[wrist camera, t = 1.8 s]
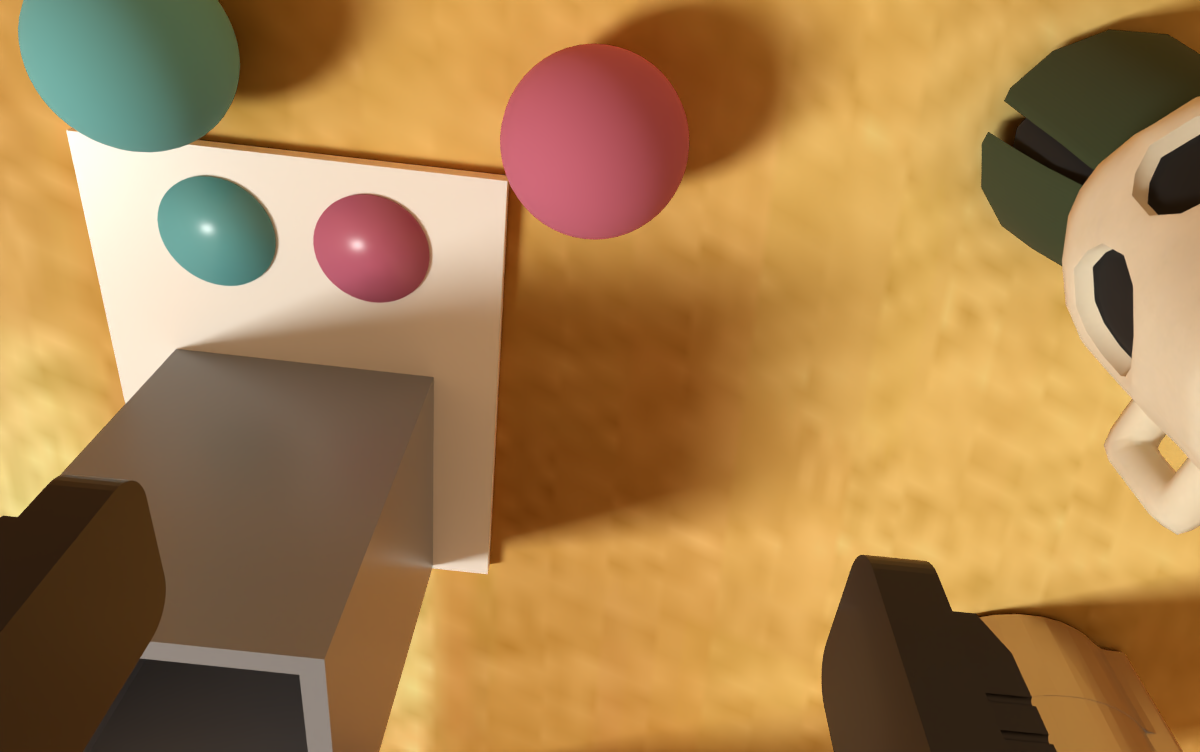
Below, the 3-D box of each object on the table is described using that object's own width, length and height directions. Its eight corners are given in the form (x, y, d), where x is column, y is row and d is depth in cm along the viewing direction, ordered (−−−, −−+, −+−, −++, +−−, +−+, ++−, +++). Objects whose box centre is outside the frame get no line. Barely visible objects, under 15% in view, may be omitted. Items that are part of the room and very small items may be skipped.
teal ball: (258, -54, 23) (173, -31, 19) (275, 132, 26) (203, 189, 22) (70, -76, 23) (-58, -58, 19) (106, 112, 26) (1, 166, 22)
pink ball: (698, 38, 24) (710, 80, 20) (671, 210, 27) (677, 279, 22) (517, 17, 24) (491, 55, 20) (508, 191, 27) (483, 257, 22)
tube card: (509, 175, 26) (419, 402, 16) (489, 565, 35) (421, 885, 24) (75, 125, 26) (-314, 322, 15) (160, 530, 34) (-55, 838, 24)
